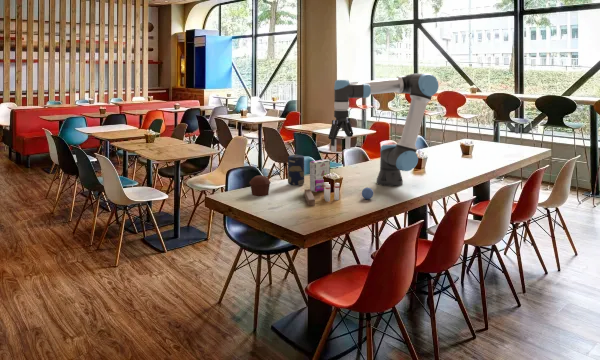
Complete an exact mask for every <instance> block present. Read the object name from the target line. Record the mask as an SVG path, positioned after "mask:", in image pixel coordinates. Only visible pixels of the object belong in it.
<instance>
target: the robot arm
mask: <svg viewBox="0 0 600 360" xmlns="http://www.w3.org/2000/svg"><path fill="white" fill-rule="evenodd" d="M333 90H334V91H333V94H334V101H333V102H334V104H333V105H334V110H333V111H334V112H333V116H334V119H335V120H334V119H333V120H331V126H330V130H329V134H328V139H329V140H330V152H331V153H337V137H338V134H339V132H340V130H341V129H343V131H344V133H345V143H344V144H345V147H344V148H345V149H346V150H351V141H352V140H351V137H353V135H354V132H353V131H354V130H353V127H352V123H351V118H349V117H350V116H349V114H350V113H349V112H350V111H349V109H350V103H349V102H350V99H367V98H369V97H370V96H371V95H378V94H388V93H397V94H409V97H410V99H411V100H410V104H409V108H408V112H407V115H406V119H405V122H404V126H403V129H402V132H401V133H402V134H401V136H400V139H399V142H397V143H396V144H394V143H393V144H382V145H381V146H380V151H379V152H380V157H379V158H380V159H379V160H380V161H379V172H378V175H377V177H376V184H377V183H378V184H377V185H379V184H381V185H380V186H384V185H399V186H402V185H403V181H404V180H403V175H402V172H410V171H412V170H414V168H416V166H417V165H418V162H419V156H418V154H417V152H418V151H417V150H418V148H417V146H416V144H417V140H418V137H419V133H420V131H421V126H422V123H423V119H424V115H425V112H426V107H427V105H428V103H430V102H431V100H432V97H433V96H434V95H435V94H437V92H438V90H439V81H438V79H437V77H436V76H435V75H434V74H430V73H416V72H415V73H411V74H410V73H409V74H405V75H401V76H400V75H399V76H396V77H395V78H386V79H385V78H384V79H376V80H375V79H374V80H363V81H354V82H350V81H349V79H336V80H335V81H334V87H333ZM401 171H402V172H401ZM401 184H402V185H401Z"/></svg>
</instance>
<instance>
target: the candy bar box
mask: <svg viewBox="0 0 600 360" xmlns="http://www.w3.org/2000/svg"><path fill="white" fill-rule="evenodd" d="M326 174H330V175H331V160H330V159H319V160H314V161H309V189H310V190H311V192H312V193H313V192H314V193H317V192H324V179H323V176H324V175H326Z"/></svg>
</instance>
